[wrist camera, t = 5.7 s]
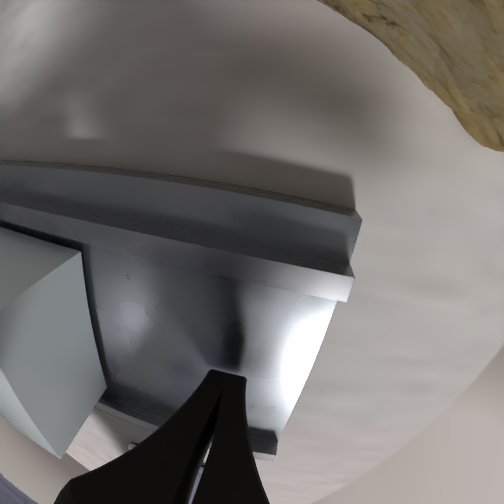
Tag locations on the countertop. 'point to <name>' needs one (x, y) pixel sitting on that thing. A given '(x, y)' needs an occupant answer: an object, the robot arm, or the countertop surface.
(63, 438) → the pale blue-grey box
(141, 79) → the countertop surface
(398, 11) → the rock
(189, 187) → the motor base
